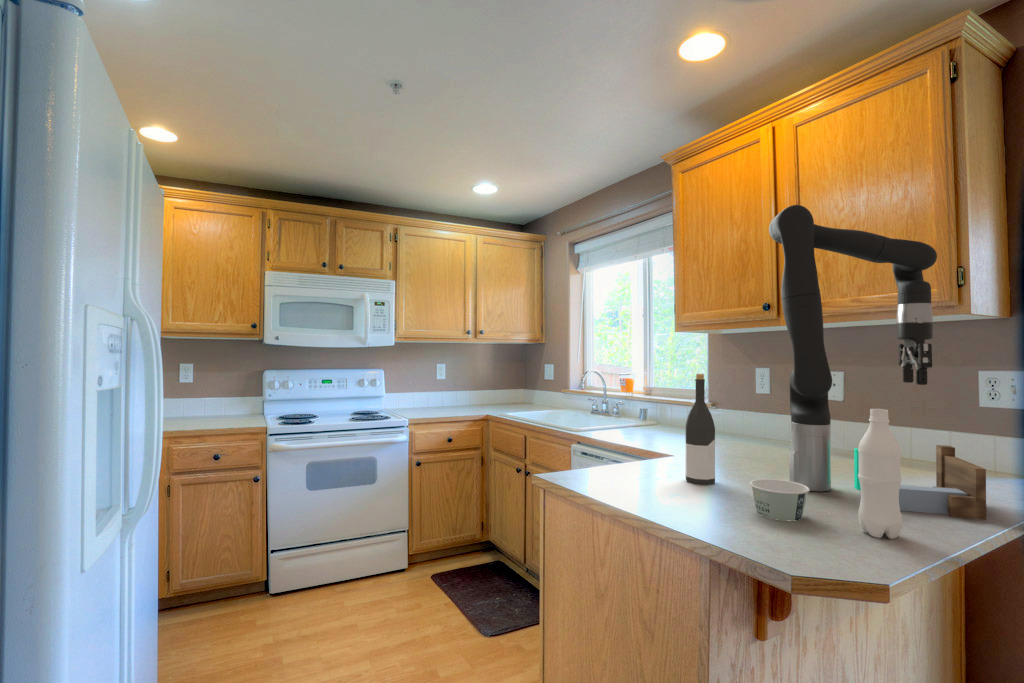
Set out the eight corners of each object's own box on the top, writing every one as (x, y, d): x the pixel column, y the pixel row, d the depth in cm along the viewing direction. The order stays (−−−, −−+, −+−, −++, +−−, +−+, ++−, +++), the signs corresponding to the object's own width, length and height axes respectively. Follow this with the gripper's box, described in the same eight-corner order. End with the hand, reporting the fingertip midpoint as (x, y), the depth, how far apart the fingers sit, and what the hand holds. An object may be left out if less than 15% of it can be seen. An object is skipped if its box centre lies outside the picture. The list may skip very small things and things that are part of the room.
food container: (737, 510, 122) (737, 481, 122) (775, 504, 127) (775, 476, 127) (783, 526, 111) (782, 495, 111) (822, 519, 116) (822, 489, 116)
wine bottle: (690, 476, 153) (689, 372, 153) (719, 480, 148) (718, 373, 149) (680, 482, 147) (680, 374, 147) (711, 487, 142) (710, 375, 142)
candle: (878, 487, 142) (878, 442, 142) (883, 493, 136) (883, 446, 136) (852, 485, 144) (852, 441, 144) (856, 490, 139) (855, 444, 139)
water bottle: (903, 543, 101) (902, 412, 101) (858, 536, 105) (858, 410, 105) (900, 532, 107) (899, 408, 107) (858, 526, 111) (857, 406, 111)
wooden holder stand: (951, 516, 117) (950, 458, 117) (917, 495, 134) (917, 444, 134) (989, 520, 115) (988, 460, 115) (949, 497, 132) (949, 445, 132)
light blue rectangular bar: (893, 510, 122) (893, 488, 122) (886, 505, 126) (886, 484, 126) (968, 515, 118) (968, 493, 118) (959, 510, 122) (959, 488, 122)
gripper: (887, 322, 146) (887, 381, 146) (908, 320, 133) (908, 385, 132) (919, 322, 144) (920, 382, 144) (944, 319, 130) (944, 385, 130)
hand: (914, 383), depth 138 cm, fingers open, 8 cm apart
